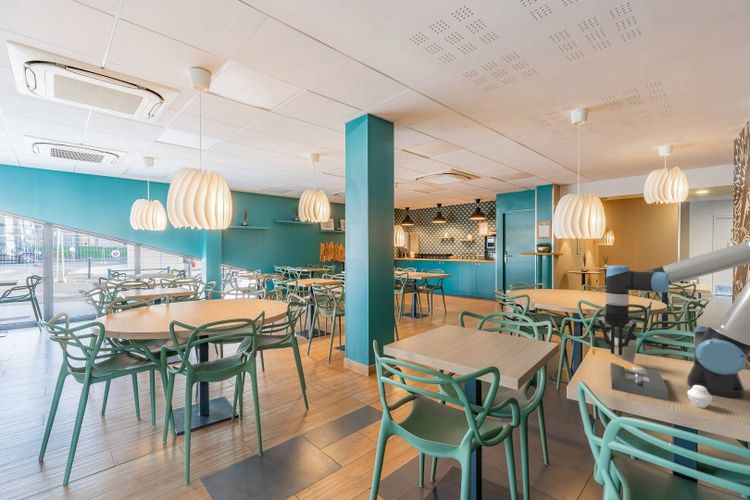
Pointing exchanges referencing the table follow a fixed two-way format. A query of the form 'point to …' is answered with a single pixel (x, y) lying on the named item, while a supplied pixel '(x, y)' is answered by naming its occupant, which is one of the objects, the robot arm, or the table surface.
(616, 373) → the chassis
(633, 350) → the coffee cup
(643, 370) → the swing arm
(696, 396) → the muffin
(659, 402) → the table surface
